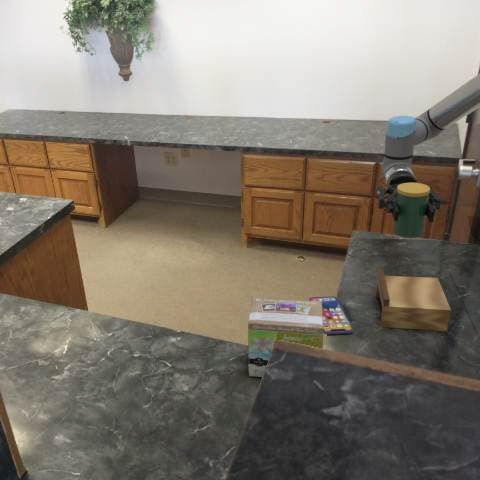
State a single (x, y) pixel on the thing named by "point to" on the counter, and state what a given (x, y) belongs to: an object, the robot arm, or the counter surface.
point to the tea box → (281, 327)
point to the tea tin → (411, 209)
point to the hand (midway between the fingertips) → (414, 216)
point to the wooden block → (412, 302)
